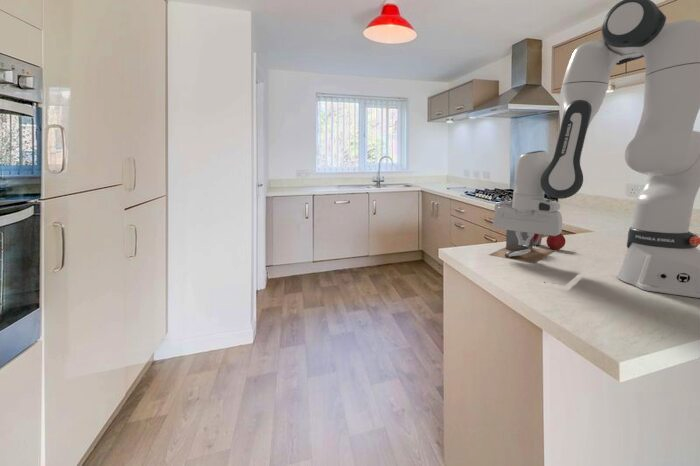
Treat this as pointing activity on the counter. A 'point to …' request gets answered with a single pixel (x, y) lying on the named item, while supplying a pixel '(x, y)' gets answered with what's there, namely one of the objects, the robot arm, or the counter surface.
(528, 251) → the keeper
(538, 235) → the soda can
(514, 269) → the counter surface
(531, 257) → the board
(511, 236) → the socket
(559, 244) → the onion
